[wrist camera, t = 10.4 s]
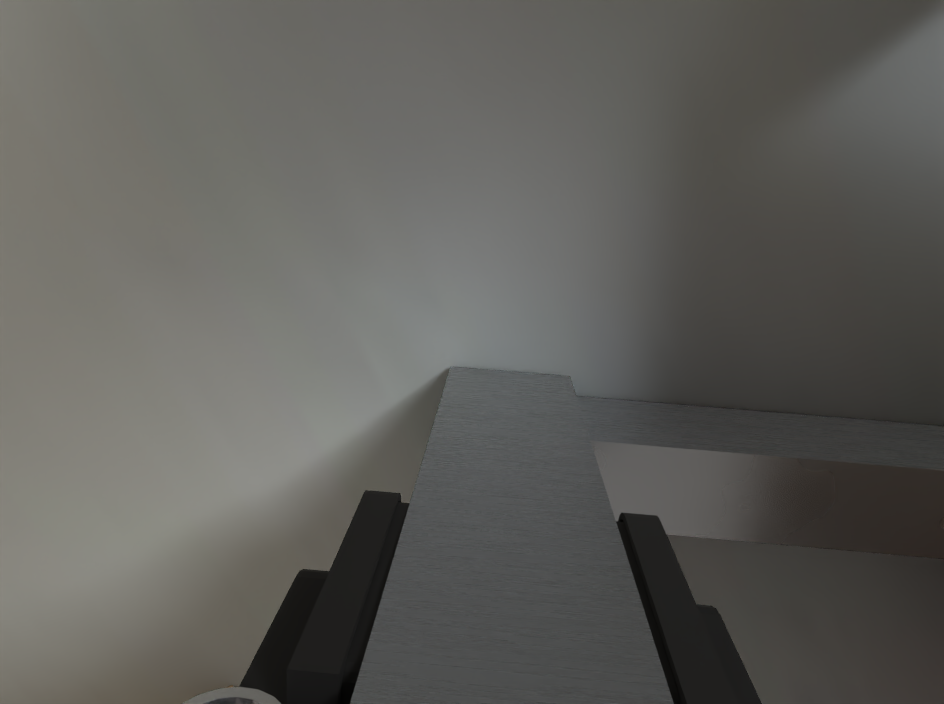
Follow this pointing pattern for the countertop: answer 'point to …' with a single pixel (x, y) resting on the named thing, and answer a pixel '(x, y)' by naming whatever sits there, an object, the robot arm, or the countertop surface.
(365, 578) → the robot arm
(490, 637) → the grey angled piece
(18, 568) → the countertop surface
